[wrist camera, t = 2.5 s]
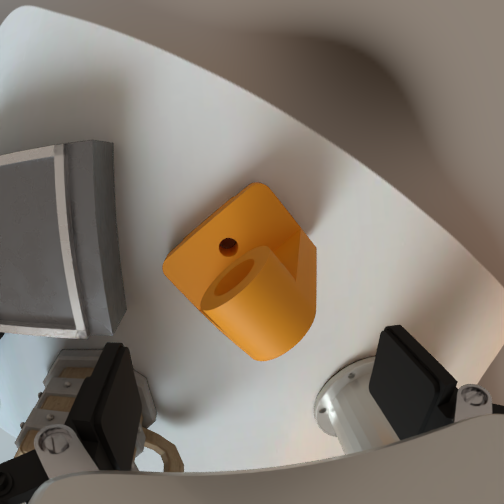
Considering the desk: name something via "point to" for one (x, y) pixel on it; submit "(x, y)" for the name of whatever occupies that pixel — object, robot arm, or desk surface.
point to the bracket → (250, 273)
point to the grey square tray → (60, 242)
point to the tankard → (63, 396)
